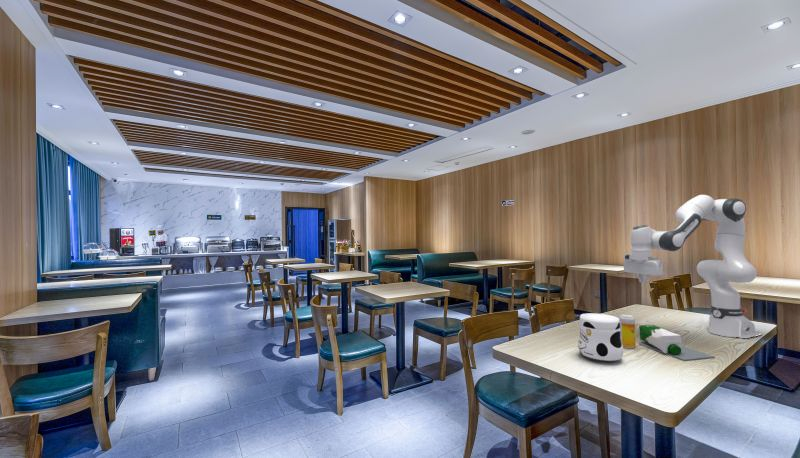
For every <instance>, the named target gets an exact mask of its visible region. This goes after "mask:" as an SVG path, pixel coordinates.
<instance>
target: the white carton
mask: <svg viewBox="0 0 800 458" xmlns="http://www.w3.org/2000/svg"><path fill="white" fill-rule="evenodd" d="M638 327H639V339H640V341H642V342H643V343H649V344H651V345H653V346H655V347H657V348H659V349H660V350H662V351H663V352H664V353H671V354H675V355H679V354H680V353H682V346H683V343H682V342H683V341H682V335H681V334H677V333H675V332H672V331H669V330H667V329H664V328H662V327H660V326H657V325H655V324H644V325H640V324H639V326H638Z"/></svg>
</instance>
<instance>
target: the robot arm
mask: <svg viewBox="0 0 800 458" xmlns="http://www.w3.org/2000/svg"><path fill="white" fill-rule="evenodd" d="M746 211H747V205H746V204H745V201H743V200H742V199H740V198H733V197H730V198H720V199H719V198H718V199H714V198H713V197H712V196H710V195H707V194H699V195H696V196H695V197H692V198H691V199H688V201H686V202H684V204H682V205H681V206H680V207H679V208H678V209H676V211H675V218H676V220H677V221H678V222H679V223H680V224H679V226H678V227H677V228H675V229H673V230H668V231H667V230H666V231H665V230H664V231H663V230H659V231H658V230H655V229H653V228H651V227H650V226H649V225H647V224H646V225H643V224H642V225H637V226H634V227H632V229H631V231H630V244H631V250H630V251H631V252H630V253H627V254H625V255H623V259H624V260H623V271H624V272H625V273H628V274H630V273H632V274H636V277H637V278H638V280H639V283H640V284H641V283H642V284H647V283H648V279H649V276H652V277H661V276H663V275H664V270H663V265H662V260H661V259H660V258H659V257H653V250H658V251H659V250H661V251H670V252H676V251H679V250H680V249H682V247H683V246H684V244H685V242H686V240H688V238H689V237H690V236H691V235H692V234H693V233H694V232H695V231H696V230H697V228H698V227H700V226H701V223H702V221H717V223H718V225H717V229H716V234H715V240H714V246H713V247H714V249H715V250H716V251H717V252H718V253H720V254H721V256H722V260H721V259H720V260H719V259H706V260H705V259H704V260H701V261H699V262H698V263H697V266H696V272H697V274H698V275H699V276H700V277H701V278H702V279H703V280H704V281H705V282H706V285H708V288H709V290H710V297H711V305H710V308H709V309H710V313H711V314H710V315H709V319H708V326H706V330H708V332H709V333H711V334H714V335H717V336H722V337H728V338H736V337H739V338H738V339H743V338H749V337H753V336H756V335H759V334H762V333H761V332H759V331H756V326H755V324H754V322H753V321H751V320H750V319H748V317H746V316H745V315H744V313H746V314H747V312H748V309H747V308H741V295H740V292H738V291H737V290H736V289H735V288H733V287H732V286H731V284H730V283H736V284H743V283H744V284H745V283H752V282H753V281H754V280H755V278H756V277H757V270H756V267H754V265H752V264H751V263H750V262H749V261H748V259H747V258H746V256H745V253H744V244H745V243H744V242H745V236H746V223H745V218H744V216H745V214H746ZM749 339H750V338H749Z"/></svg>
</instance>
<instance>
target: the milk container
mask: <svg viewBox="0 0 800 458" xmlns="http://www.w3.org/2000/svg"><path fill="white" fill-rule="evenodd" d="M577 348H578V352H579V353H580V354H581V355H582V357H585V358H586V359H589V360H593V361H596V362H604V363H614V362H619V361H621V360H622V359H623V356H624V347H623V346H622V343H621V338H620V317H617V316H614V315H611V314H605V313H593V312H592V313H590V312H589V313H582V314H580V315H579V338H578V342H577Z"/></svg>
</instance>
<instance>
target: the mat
mask: <svg viewBox="0 0 800 458" xmlns="http://www.w3.org/2000/svg"><path fill="white" fill-rule="evenodd" d="M638 345H639V346H642V347H644V348H647V349H650V350H653V351H655V352H658V353H661V354H663V355H667V356H669V357H672V358H675V359H677V360H680V361H682V362H690V361H698V360H707V359H708V360H709V359H715V357H716V356H714V355H711V354H708V353H705V352H702V351H699V350H695V349H692V348H691V347H687V346H683V345H682V353H680V354H679V355H675V354H671V353H664V352H663V351H662V350H660V349H659V348H657V347H655V346H653V345H651V344H649V343H647V342H640V343H639V344H638Z"/></svg>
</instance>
